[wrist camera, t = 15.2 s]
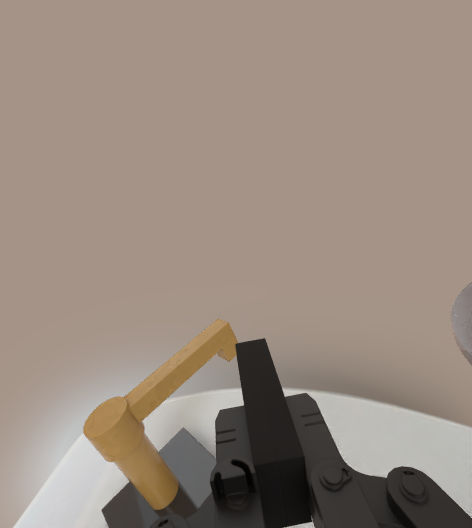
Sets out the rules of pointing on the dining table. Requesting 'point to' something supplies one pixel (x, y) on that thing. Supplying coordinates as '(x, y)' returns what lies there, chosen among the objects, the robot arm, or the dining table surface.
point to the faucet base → (162, 482)
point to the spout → (153, 393)
